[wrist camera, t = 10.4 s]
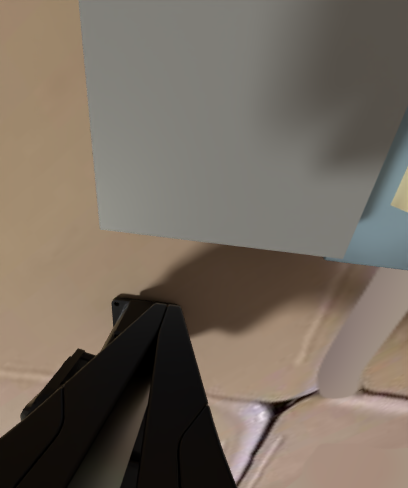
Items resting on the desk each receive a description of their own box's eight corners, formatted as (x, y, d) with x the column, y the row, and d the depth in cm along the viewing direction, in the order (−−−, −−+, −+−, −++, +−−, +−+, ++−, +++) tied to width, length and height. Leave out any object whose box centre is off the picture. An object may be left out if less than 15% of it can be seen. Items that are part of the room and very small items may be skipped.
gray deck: (319, 234, 19) (342, 259, 15) (122, 210, 19) (99, 229, 15) (401, 1, 13) (473, -51, 9) (111, -34, 13) (69, -98, 9)
